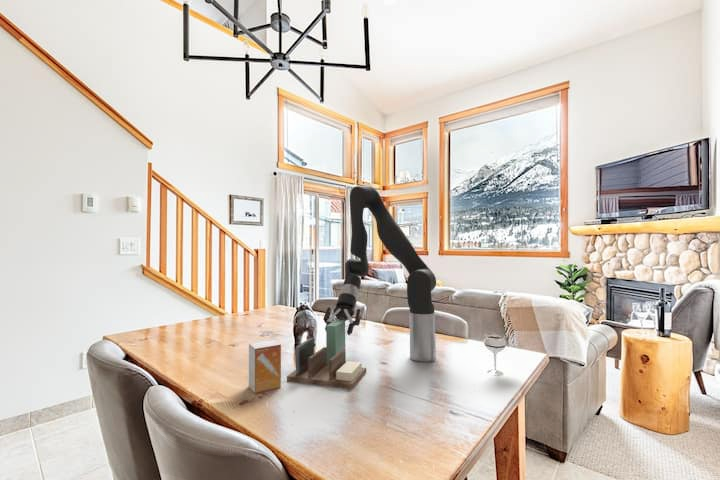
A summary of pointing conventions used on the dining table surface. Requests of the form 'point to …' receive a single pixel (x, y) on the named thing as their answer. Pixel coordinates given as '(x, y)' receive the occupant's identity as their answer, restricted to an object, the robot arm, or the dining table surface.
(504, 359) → the dining table surface
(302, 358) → the bookend
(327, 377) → the book rack
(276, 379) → the small box
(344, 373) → the toppled book
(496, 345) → the wineglass
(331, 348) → the book
